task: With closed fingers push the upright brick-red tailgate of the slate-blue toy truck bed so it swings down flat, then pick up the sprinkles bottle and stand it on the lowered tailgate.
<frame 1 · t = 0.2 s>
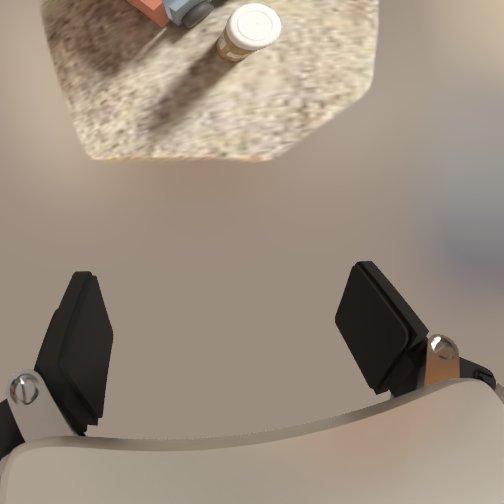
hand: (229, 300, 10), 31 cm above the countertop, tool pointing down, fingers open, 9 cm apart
sprinkles bottle: (233, 45, 29), on the countertop
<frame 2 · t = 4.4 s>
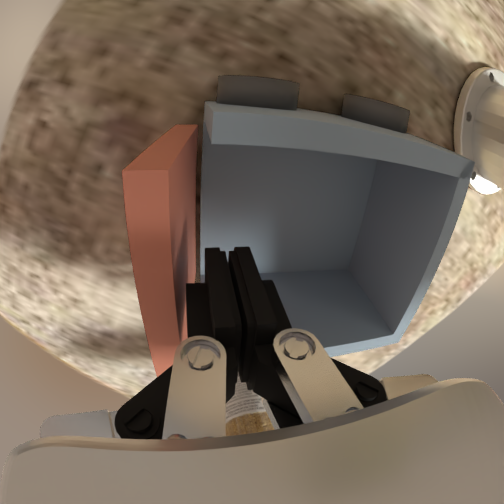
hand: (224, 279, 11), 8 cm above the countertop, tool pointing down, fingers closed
sprinkles bottle: (235, 337, 25), on the countertop
truck bed: (293, 200, 19), on the countertop
tailgate: (174, 243, 13), point 5 cm above the countertop, hinge at 5.3°, touching gripper
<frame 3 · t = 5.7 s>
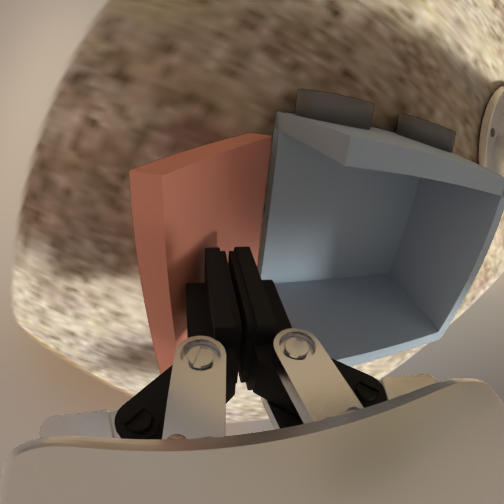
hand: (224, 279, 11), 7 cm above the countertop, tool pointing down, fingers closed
truck bed: (348, 210, 19), on the countertop
tailgate: (217, 249, 13), point 5 cm above the countertop, hinge at 33.7°, touching gripper
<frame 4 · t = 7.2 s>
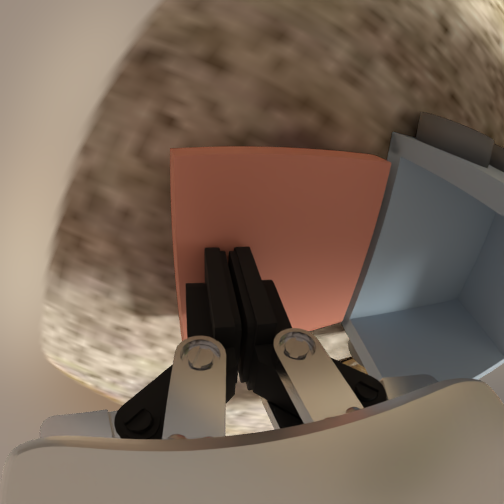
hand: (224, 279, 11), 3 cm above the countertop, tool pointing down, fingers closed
truck bed: (436, 239, 16), on the countertop
tailgate: (281, 259, 13), point 2 cm above the countertop, hinge at 79.8°, touching gripper
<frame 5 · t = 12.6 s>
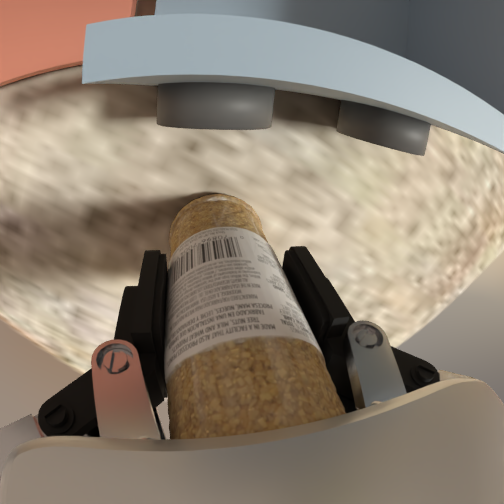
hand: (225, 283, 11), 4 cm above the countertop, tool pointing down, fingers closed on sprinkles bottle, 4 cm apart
sprinkles bottle: (216, 232, 14), on the countertop, touching gripper
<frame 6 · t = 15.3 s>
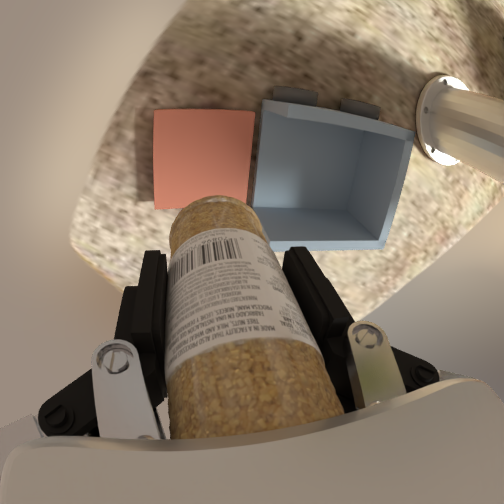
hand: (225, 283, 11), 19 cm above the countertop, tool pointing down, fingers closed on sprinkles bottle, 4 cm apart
sprinkles bottle: (216, 233, 14), point 15 cm above the countertop, touching gripper
truck bed: (311, 161, 29), on the countertop
tailgate: (201, 158, 26), point 1 cm above the countertop, hinge at 85.5°
when the fingers open (6 cm above the countertop, at t = 18.1 s): sprinkles bottle stays where it is, resting on tailgate.
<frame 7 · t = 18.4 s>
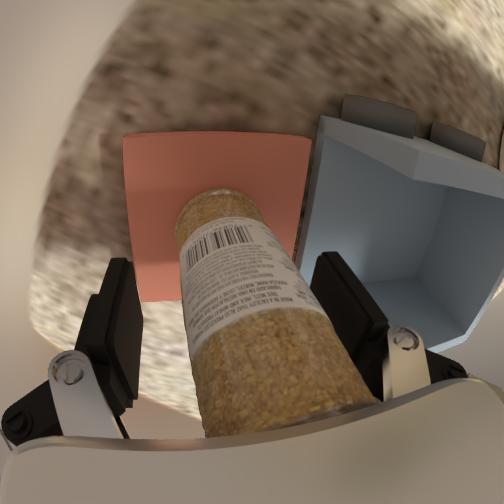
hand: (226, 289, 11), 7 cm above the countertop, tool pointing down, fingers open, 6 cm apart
sprinkles bottle: (218, 224, 15), point 1 cm above the countertop, touching tailgate
truck bed: (382, 215, 18), on the countertop
tailgate: (215, 221, 15), point 1 cm above the countertop, hinge at 86.8°, touching sprinkles bottle
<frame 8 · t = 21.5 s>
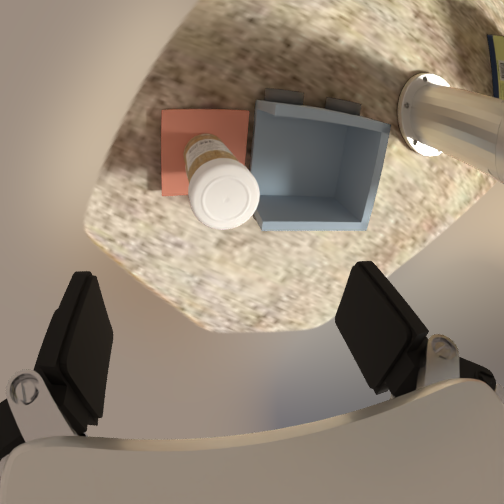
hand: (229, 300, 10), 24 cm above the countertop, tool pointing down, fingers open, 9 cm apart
sprinkles bottle: (204, 152, 29), point 1 cm above the countertop, touching tailgate
truck bed: (300, 154, 33), on the countertop
protein box: (502, 74, 29), on the countertop
tailgate: (203, 152, 29), point 1 cm above the countertop, hinge at 86.9°, touching sprinkles bottle
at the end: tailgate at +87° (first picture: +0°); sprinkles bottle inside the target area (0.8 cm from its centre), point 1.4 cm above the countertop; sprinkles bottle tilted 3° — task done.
